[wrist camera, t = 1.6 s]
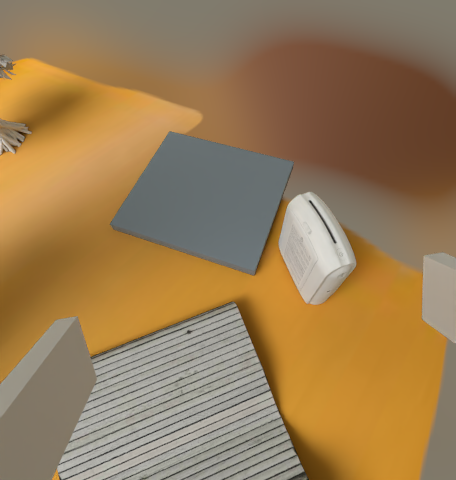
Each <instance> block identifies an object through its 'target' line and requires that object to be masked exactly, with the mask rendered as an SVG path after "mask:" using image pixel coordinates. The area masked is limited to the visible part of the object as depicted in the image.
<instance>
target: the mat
mask: <svg viewBox="0 0 456 480" xmlns="http://www.w3.org/2000/svg"><path fill="white" fill-rule="evenodd" d="M90 358H91V361H92V364H93V367H94V370H95V373H96V377H97V381H96V383H95V385H94V388H93V390H92V392H91V394H90V396H89V399H88V401H87V403H86V405H85V407H84V410H83V412H82V414H81V416H80V418H79V421H78V423H77V425H76V427H75V429H74V432H73V434H72V436H71V438H70V440H69V443H68V445H67V447H66V449H65V451H64V454H63V456H62V458H61V460H60V462H59V465H58V467H57V470H58V474H59V479H60V480H309V479H308V477H307V475H306V473H305V471H304V469H303V466H302V464H301V462H300V460H299V457H298V455H297V453H296V450H295V448H294V446H293V444H292V441H291V439H290V437H289V435H288V432H287V430H286V428H285V426H284V423H283V420H282V418H281V415H280V413H279V410H278V408H277V406H276V404H275V401H274V398H273V396H272V393H271V390H270V387H269V384H268V381H267V378H266V375H265V373H264V370H263V368H262V365H261V363H260V360H259V358H258V356H257V353H256V351H255V349H254V347H253V344H252V341H251V338H250V336H249V334H248V331H247V329H246V327H245V324H244V322H243V319H242V317H241V314H240V312H239V310H238V307H237V305H236V304H235V302H230V303H228V304H225V305H223V306H220V307H217V308H215V309H212V310H210V311H207V312H205V313H202V314H200V315H197V316H194V317H192V318H189V319H187V320H184V321H182V322H179V323H177V324H174V325H171V326H169V327H166V328H164V329H161V330H159V331H156V332H153V333H151V334H148V335H146V336H143V337H141V338H138V339H135V340H133V341H130V342H128V343H126V344H123V345H121V346H118V347H116V348H113V349H111V350H108V351H105V352H103V353H100V354H97V355H95V356H92V357H90Z"/></svg>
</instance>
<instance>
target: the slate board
mask: <svg viewBox="0 0 456 480" xmlns="http://www.w3.org/2000/svg"><path fill="white" fill-rule="evenodd" d="M293 163H294V162H292V161H288V160H284V159H280V158H276V157H272V156H268V155H264V154H260V153H256V152H252V151H247V150H243V149H240V148H235V147H231V146H227V145H223V144H219V143H215V142H211V141H207V140H203V139H199V138H195V137H191V136H187V135H183V134H179V133H175V132H171V131H170V132H169V133H168V135H167V136H166V138H165V139H164V141H163V142H162V144H161V145H160V147H159V149H158V150H157V152H156V153H155V155H154V156H153V158H152V159H151V161H150V162H149V164H148V166H147V167H146V169H145V170H144V172H143V173H142V175H141V176H140V178H139V180H138V181H137V183H136V184H135V186H134V187H133V189H132V190H131V192H130V193H129V195H128V197H127V198H126V200H125V201H124V203H123V204H122V206H121V207H120V209H119V210H118V212H117V214H116V215H115V217H114V218H113V220H112V221H111V223H110V225H111V226H112V228H113V229H114V230H117V231H120V232H123V233H126V234H129V235H132V236H135V237H138V238H141V239H144V240H147V241H150V242H154V243H157V244H160V245H163V246H166V247H169V248H172V249H175V250H178V251H181V252H184V253H187V254H190V255H193V256H196V257H199V258H202V259H205V260H208V261H211V262H214V263H217V264H220V265H223V266H227V267H230V268H233V269H236V270H239V271H242V272H245V273H248V274H251V275H255V272H256V269H257V267H258V264H259V261H260V258H261V255H262V253H263V250H264V247H265V244H266V241H267V239H268V236H269V233H270V230H271V227H272V225H273V222H274V219H275V216H276V213H277V211H278V208H279V205H280V202H281V199H282V197H283V194H284V191H285V188H286V185H287V183H288V180H289V177H290V174H291V171H292V169H293Z"/></svg>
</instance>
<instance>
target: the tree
mask: <svg viewBox="0 0 456 480" xmlns="http://www.w3.org/2000/svg"><path fill="white" fill-rule="evenodd" d="M4 55H5V54H1V55H0V78H8V79H11V78H10V77H9V76H8V75H7V74H5V73H4V71H3V70H5V71H7V72H8V73H10V74H12V75H15V74H13V73H11V72H10V71H8V70H13V66H14V65H15V64H12V62H11V63H9V61H13V60H11V59H9V58H8V57H7V56H4ZM1 64H2V65H3V67H2V65H1ZM6 64H7V65H6ZM16 64H17V63H16ZM2 74H3V75H2ZM3 76H4V77H3ZM11 80H12V79H11ZM25 125H26V124H22V123H16V122H9V121H5V120H2V119H0V155H1V154H2V152H3V149H4V150H5V151H6V152H8V150H7V148H8V149H9V151H11V152H12V153H16V151H15V150H14V149H13V148H12V146H18V147H19V146H21V143H19V142H18V141H17V139H19V140H20V141H22V142H23V141H24V140H23V139H24V138H25V137H24V136H22V135H21V134H19V133H18V132H16V131H19V132H23V133H27V134H31V133H32V132H31V131H28V128H29V127H24V126H25ZM5 134H6V135H5ZM3 143H4V144H3ZM4 145H5V146H6V147H7V148H6V147H5V146H4Z"/></svg>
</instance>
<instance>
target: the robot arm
mask: <svg viewBox="0 0 456 480" xmlns="http://www.w3.org/2000/svg"><path fill="white" fill-rule="evenodd" d="M423 263H424V264H423V297H422V320H424V321H425V322H426V323H428V324H429V325H430V326H432V327H433V328H434V329H436V330H437V331H439V332H440V333H441V334H443V335H444V336H445V337H447V338H448V339H449V340H451V341H452V342H454V343H455V344H456V257H453V256H451V255H448V254H446V253H443V252H442V253H437V254H430V255H425V256H424V261H423ZM96 381H97V377H96V373H95V370H94V367H93V364H92V361H91V358H90V354H89V351H88V348H87V345H86V342H85V339H84V335H83V332H82V329H81V326H80V323H79V319H78V316H76V317H70V318H64V319H59V320H56V321H55V322H54V323H53V324H52V325H51V326H50V328H49V329H48V330H47V331H46V332H45V333H44V334H43V336H42V337H41V338H40V339H39V340H38V341H37V343H36V344H35V345H34V346H33V347H32V348H31V349H30V351H29V352H28V353H27V354H26V355H25V356H24V358H23V359H22V360H21V361H20V362H19V363H18V364H17V366H16V367H15V368H14V369H13V370H12V371H11V372H10V374H9V375H8V376H7V377H6V378H5V379H4V381H3V382H2V383H1V384H0V480H52V478H53V476H54V473H55V471H56V469H57V467H58V465H59V462H60V460H61V458H62V456H63V454H64V451H65V449H66V447H67V445H68V443H69V440H70V438H71V436H72V434H73V432H74V429H75V427H76V425H77V423H78V421H79V418H80V416H81V414H82V412H83V410H84V407H85V405H86V403H87V401H88V399H89V396H90V394H91V392H92V390H93V388H94V385H95V383H96Z"/></svg>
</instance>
